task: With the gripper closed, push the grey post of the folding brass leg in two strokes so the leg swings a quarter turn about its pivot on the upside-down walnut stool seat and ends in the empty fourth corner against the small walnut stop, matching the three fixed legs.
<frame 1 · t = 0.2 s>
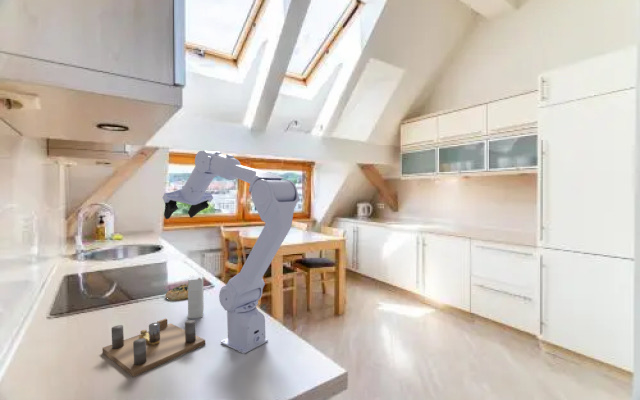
hand: (178, 215, 96), 31 cm above the worktop, tool tilted 45°, fingers open, 7 cm apart
skincare box: (196, 315, 99), on the worktop
seat board: (155, 348, 78), on the worktop
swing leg: (149, 331, 80), point 4 cm above the worktop, hinge at 0.0°
bread roll: (182, 297, 117), on the worktop
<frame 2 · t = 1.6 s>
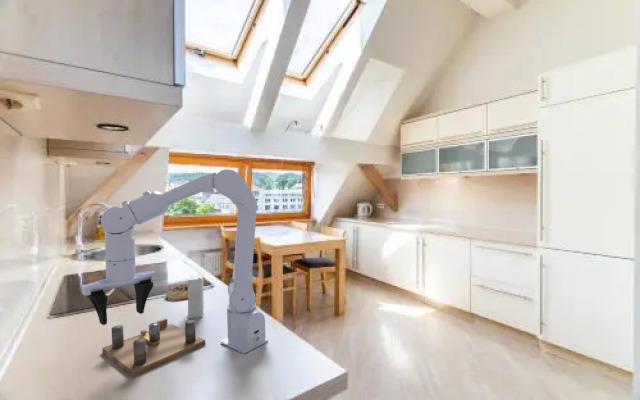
hand: (122, 317, 73), 10 cm above the worktop, tool pointing down, fingers open, 7 cm apart
nothing on the worktop moved.
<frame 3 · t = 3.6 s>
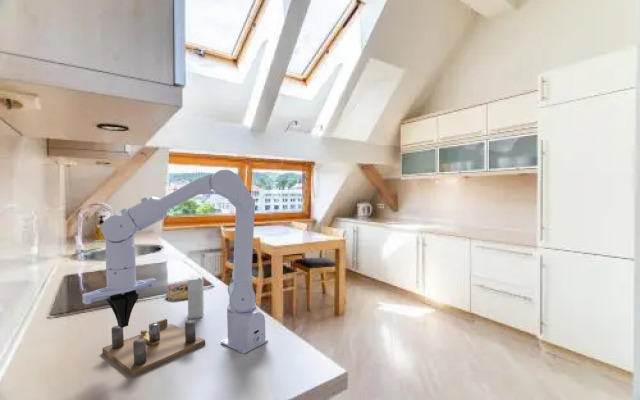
hand: (123, 325, 72), 8 cm above the worktop, tool pointing down, fingers closed
nothing on the worktop moved.
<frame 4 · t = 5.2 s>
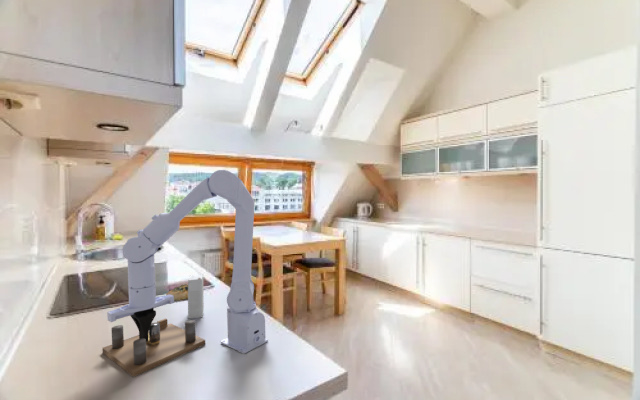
hand: (144, 340, 77), 3 cm above the worktop, tool pointing down, fingers closed, pressing on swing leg
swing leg: (149, 331, 80), point 4 cm above the worktop, hinge at 0.1°, touching gripper
everything else where it was.
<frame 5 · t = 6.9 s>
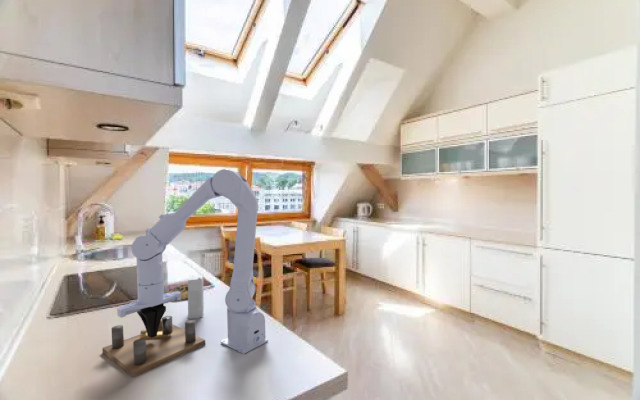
hand: (152, 335, 79), 3 cm above the worktop, tool pointing down, fingers closed
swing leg: (156, 327, 82), point 4 cm above the worktop, hinge at 41.2°
everything else where it was.
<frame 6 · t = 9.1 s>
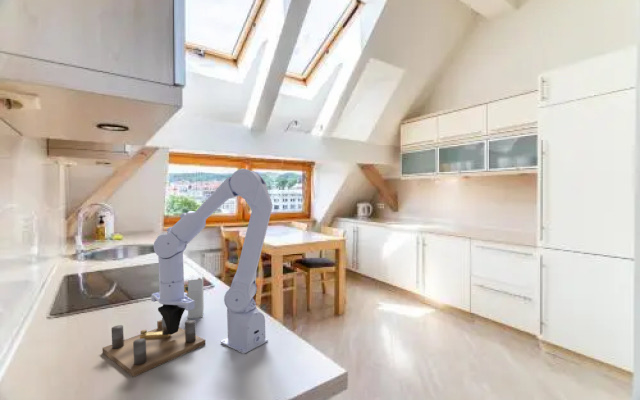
hand: (173, 332, 81), 3 cm above the worktop, tool pointing down, fingers closed
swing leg: (156, 327, 82), point 4 cm above the worktop, hinge at 41.5°, touching gripper
everything else where it was.
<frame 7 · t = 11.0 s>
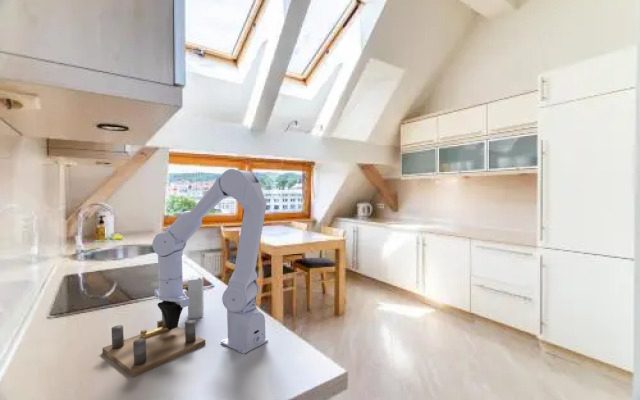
hand: (172, 328, 84), 3 cm above the worktop, tool pointing down, fingers closed
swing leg: (156, 323, 84), point 4 cm above the worktop, hinge at 86.4°
everything else where it was.
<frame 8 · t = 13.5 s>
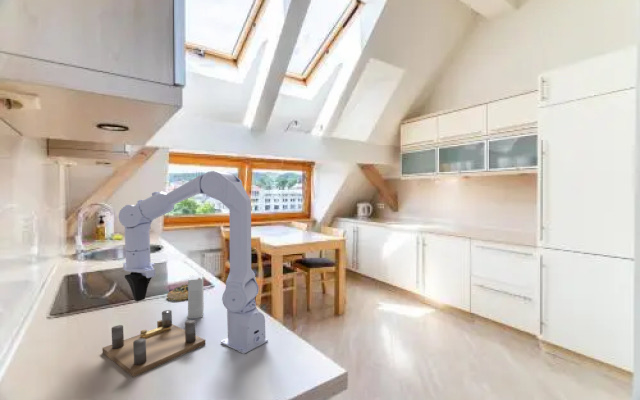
hand: (139, 299, 85), 10 cm above the worktop, tool pointing down, fingers closed
nothing on the worktop moved.
at the end: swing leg at +87° (first picture: +0°) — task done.
